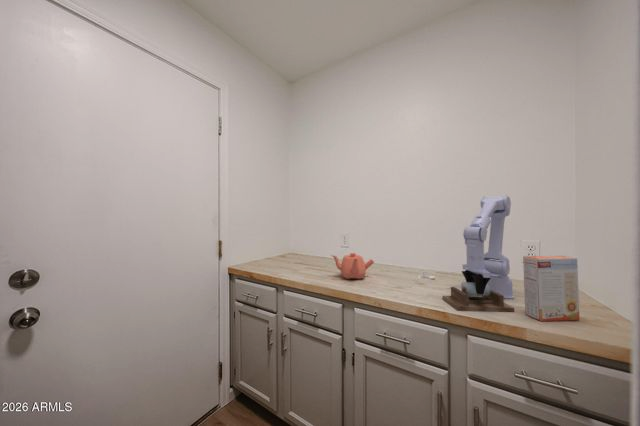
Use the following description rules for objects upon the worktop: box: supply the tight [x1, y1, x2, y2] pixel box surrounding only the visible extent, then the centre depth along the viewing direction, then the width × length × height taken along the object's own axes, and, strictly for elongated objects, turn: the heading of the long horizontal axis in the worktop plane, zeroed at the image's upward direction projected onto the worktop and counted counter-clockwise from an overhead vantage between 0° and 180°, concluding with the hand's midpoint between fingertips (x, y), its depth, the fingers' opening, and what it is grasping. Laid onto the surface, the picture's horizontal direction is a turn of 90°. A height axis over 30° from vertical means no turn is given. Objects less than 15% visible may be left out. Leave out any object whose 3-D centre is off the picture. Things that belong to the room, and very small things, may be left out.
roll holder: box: [441, 286, 515, 313], centre depth 90 cm, size 20×12×6 cm, turn 86°
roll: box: [460, 281, 490, 296], centre depth 90 cm, size 8×5×5 cm, turn 86°
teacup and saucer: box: [417, 270, 436, 281], centre depth 131 cm, size 9×8×4 cm
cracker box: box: [522, 255, 581, 322], centre depth 79 cm, size 14×6×21 cm, turn 92°
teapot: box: [330, 252, 375, 280], centre depth 133 cm, size 18×18×14 cm
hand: (475, 291), depth 90 cm, fingers closed on roll, 5 cm apart
